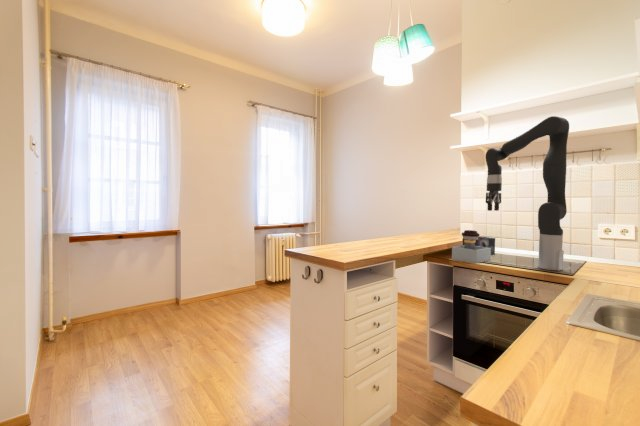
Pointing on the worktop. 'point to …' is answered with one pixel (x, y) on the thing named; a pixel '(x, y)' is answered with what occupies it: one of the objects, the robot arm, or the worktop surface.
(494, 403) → the worktop surface
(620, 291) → the worktop surface
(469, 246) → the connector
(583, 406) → the worktop surface
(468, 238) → the coffee cup
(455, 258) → the walled box
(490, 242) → the small box
